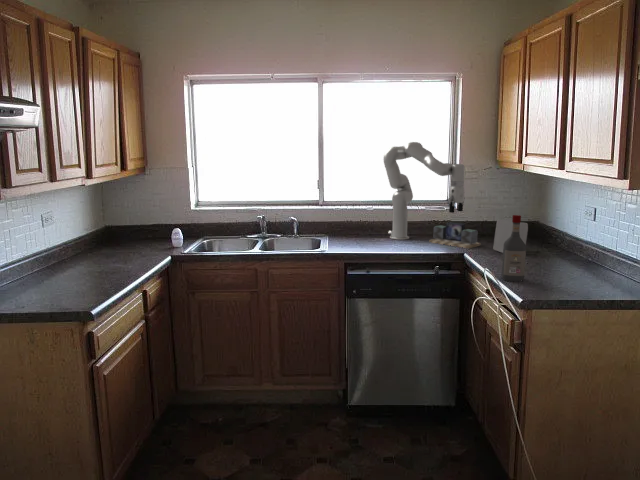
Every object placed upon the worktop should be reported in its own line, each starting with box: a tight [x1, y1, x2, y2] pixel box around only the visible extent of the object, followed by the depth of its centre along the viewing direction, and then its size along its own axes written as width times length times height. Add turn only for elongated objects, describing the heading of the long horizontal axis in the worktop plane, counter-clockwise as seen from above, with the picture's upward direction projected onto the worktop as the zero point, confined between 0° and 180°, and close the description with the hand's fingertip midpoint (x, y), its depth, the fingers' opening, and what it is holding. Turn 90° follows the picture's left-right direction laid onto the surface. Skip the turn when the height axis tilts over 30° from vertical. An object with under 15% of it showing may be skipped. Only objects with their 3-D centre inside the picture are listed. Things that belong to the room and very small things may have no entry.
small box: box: [445, 221, 466, 241], centre depth 341 cm, size 11×6×10 cm, turn 56°
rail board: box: [429, 225, 481, 249], centre depth 341 cm, size 28×14×10 cm, turn 45°
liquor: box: [501, 214, 527, 282], centre depth 252 cm, size 9×9×30 cm
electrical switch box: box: [492, 218, 529, 254], centre depth 318 cm, size 15×15×20 cm
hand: (455, 211), depth 338 cm, fingers open, 9 cm apart
